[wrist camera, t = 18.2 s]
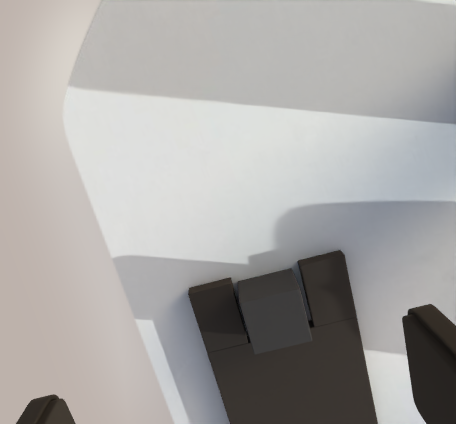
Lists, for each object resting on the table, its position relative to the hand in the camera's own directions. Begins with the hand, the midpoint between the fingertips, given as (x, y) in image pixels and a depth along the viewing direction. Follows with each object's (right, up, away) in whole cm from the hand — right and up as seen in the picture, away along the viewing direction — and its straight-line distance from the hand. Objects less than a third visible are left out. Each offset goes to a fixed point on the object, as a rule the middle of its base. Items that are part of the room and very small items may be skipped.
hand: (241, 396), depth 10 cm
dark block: (+4, -3, +24) cm, 25 cm away
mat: (+7, -14, +27) cm, 32 cm away
